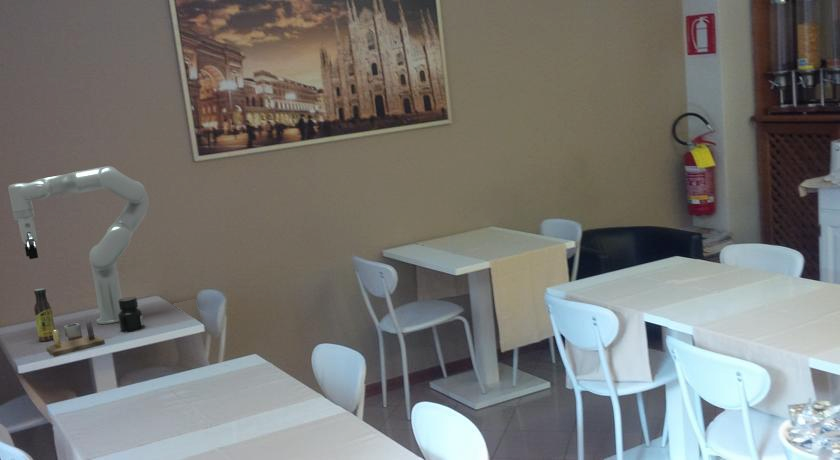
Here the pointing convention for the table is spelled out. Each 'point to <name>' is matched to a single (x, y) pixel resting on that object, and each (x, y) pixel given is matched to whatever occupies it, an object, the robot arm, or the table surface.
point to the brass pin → (56, 338)
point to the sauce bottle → (43, 316)
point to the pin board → (77, 343)
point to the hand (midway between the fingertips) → (32, 257)
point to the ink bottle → (130, 315)
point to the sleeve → (72, 331)
